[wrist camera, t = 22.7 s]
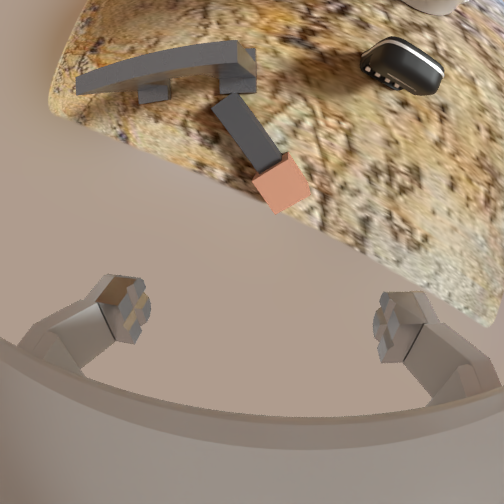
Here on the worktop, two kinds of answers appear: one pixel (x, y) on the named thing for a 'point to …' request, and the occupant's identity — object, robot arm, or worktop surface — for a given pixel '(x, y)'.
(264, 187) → the plug
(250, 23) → the worktop surface
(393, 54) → the battery charger
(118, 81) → the grey arch stand
